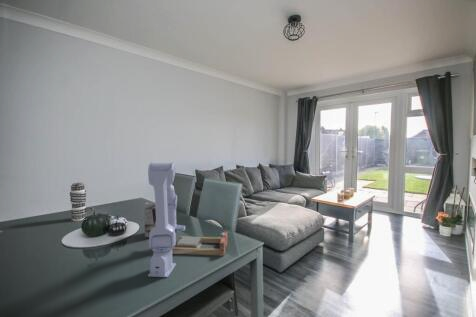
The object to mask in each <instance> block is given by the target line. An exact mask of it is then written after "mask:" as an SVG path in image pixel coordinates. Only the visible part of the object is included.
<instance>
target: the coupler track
mask: <svg viewBox="0 0 476 317" xmlns="http://www.w3.org/2000/svg"><path fill="white" fill-rule="evenodd" d="M228 234H229V232H228V230H224V231H223V234H222V237H221V236H219V237H218V236H201V237H202V243H203V244H219V248H209V247H208V248H207V247H200V248H185V247H177V246H174V247H172V255H173V254H174V255H198V256H219V257H224V256H225V253H226V250H227V246H228V242H229V240H228V239H229V236H228ZM183 236H184V235H183ZM183 236H182V235H181V236H179V240H180V239H181V238H182V237H183ZM185 236H186V237H192V236H187V235H185Z"/></svg>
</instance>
